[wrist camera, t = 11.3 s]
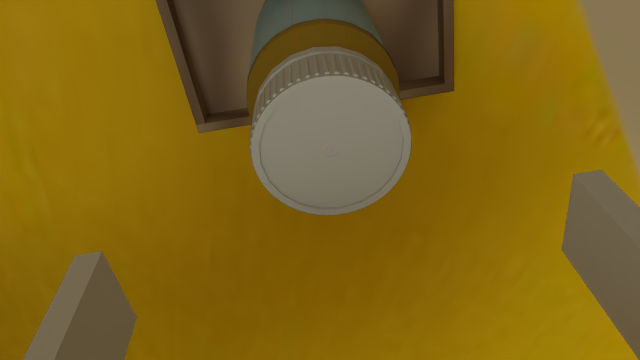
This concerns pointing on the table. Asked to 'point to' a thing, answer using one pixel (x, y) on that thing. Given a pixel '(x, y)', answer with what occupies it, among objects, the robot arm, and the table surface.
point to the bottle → (324, 107)
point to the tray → (238, 36)
